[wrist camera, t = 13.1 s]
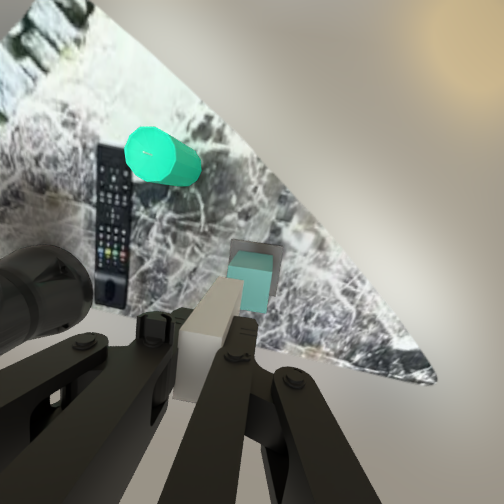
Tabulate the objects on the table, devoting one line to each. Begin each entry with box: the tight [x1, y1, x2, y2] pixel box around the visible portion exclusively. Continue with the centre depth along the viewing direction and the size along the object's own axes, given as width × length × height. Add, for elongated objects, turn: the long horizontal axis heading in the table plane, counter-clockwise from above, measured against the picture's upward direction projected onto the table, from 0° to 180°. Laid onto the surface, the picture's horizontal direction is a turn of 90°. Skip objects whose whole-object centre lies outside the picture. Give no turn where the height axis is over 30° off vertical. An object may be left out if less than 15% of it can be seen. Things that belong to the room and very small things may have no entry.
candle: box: [124, 127, 202, 186], centre depth 34 cm, size 6×6×12 cm
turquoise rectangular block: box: [227, 250, 273, 313], centre depth 36 cm, size 5×5×10 cm
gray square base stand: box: [228, 239, 283, 296], centre depth 37 cm, size 8×8×10 cm
